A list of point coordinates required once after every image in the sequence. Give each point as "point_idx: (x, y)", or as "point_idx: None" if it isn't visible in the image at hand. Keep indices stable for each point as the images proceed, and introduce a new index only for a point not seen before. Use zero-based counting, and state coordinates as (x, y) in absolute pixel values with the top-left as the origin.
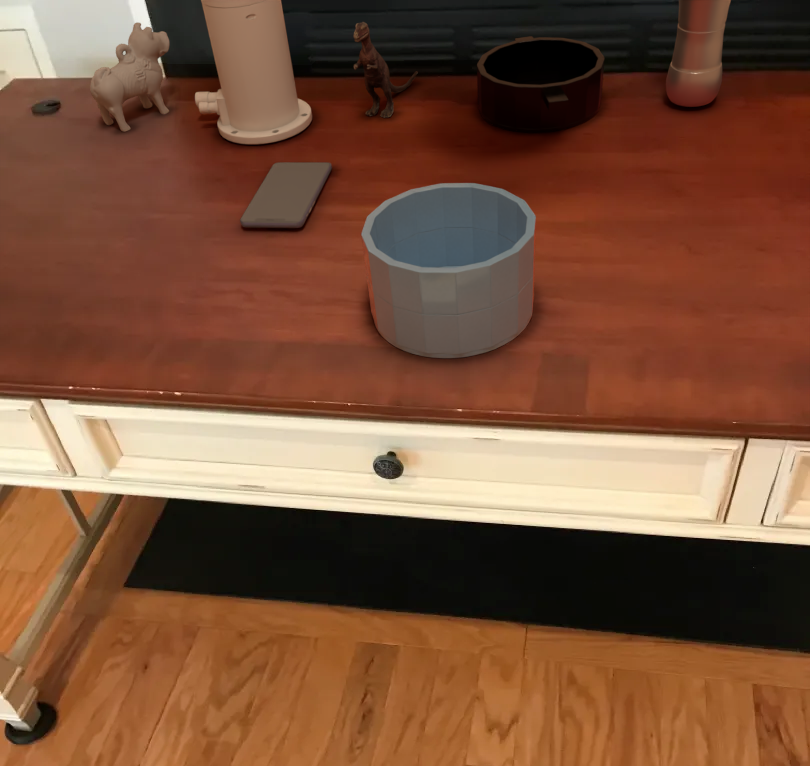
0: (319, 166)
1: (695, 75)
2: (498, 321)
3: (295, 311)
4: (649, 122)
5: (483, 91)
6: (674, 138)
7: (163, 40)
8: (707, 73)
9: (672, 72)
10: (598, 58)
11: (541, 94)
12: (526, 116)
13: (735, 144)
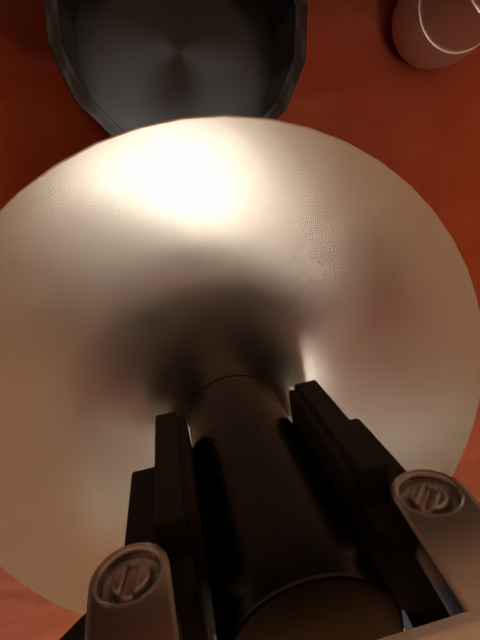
0: None
1: (453, 55)
2: None
3: (41, 612)
4: (360, 113)
5: (87, 114)
6: (394, 166)
7: None
8: (472, 48)
9: (417, 32)
10: (296, 8)
11: None
12: None
13: (467, 178)
